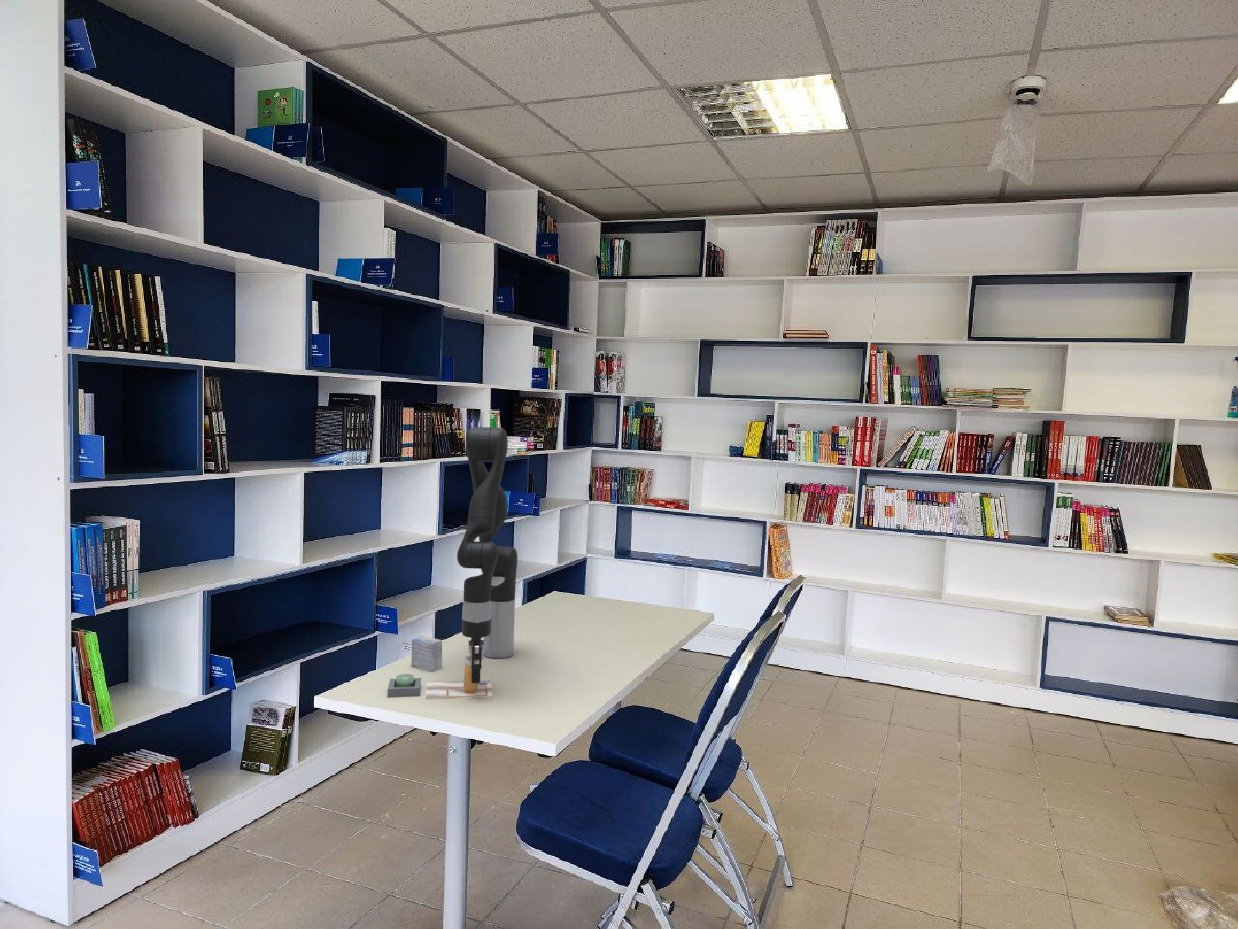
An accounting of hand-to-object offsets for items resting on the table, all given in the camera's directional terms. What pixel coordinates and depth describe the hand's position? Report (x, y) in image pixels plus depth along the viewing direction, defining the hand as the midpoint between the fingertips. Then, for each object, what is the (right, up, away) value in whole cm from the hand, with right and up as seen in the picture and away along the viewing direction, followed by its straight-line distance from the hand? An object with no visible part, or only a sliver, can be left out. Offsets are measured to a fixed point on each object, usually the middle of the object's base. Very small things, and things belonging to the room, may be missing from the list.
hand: (475, 677), depth 212 cm
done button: (-18, -2, -2) cm, 18 cm away
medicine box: (-17, -3, +18) cm, 25 cm away
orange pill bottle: (-1, -4, 0) cm, 4 cm away
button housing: (-18, -4, -2) cm, 19 cm away
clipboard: (-5, -4, +1) cm, 6 cm away
